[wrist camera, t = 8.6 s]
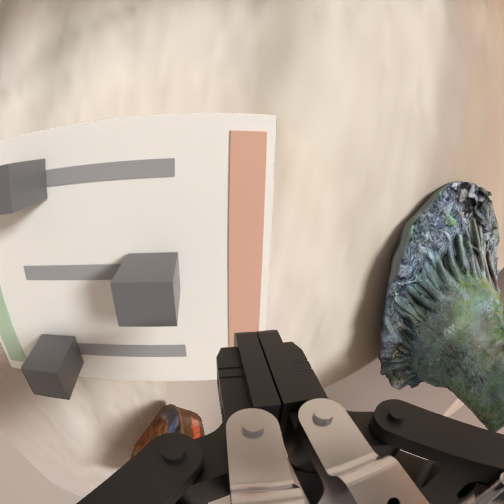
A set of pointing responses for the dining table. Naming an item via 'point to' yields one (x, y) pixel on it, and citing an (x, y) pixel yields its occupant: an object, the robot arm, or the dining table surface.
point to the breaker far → (53, 366)
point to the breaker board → (141, 238)
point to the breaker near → (22, 185)
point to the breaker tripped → (147, 290)
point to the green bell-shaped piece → (448, 302)
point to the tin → (171, 425)
